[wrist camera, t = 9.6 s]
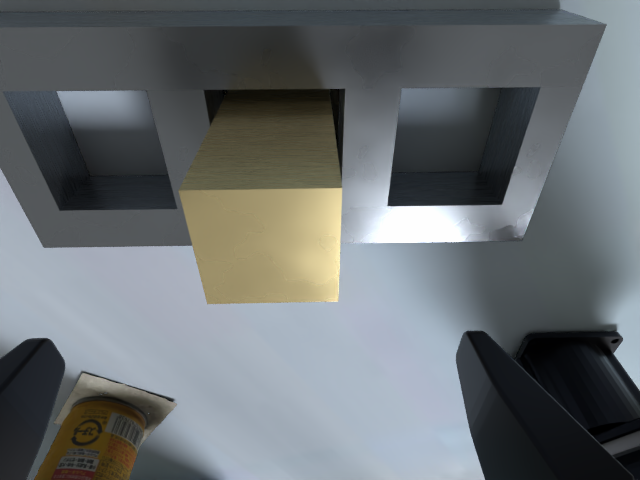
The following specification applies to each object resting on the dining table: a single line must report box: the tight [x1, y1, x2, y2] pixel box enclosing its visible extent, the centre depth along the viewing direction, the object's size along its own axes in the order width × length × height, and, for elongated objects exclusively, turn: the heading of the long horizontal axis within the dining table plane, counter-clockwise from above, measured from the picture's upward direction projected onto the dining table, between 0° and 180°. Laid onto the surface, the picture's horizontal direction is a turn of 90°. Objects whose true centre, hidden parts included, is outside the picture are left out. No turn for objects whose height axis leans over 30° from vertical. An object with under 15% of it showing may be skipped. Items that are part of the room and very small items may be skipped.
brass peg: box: [179, 89, 342, 304], centre depth 15 cm, size 4×4×9 cm
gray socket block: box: [0, 10, 607, 248], centre depth 17 cm, size 22×9×3 cm, turn 90°
